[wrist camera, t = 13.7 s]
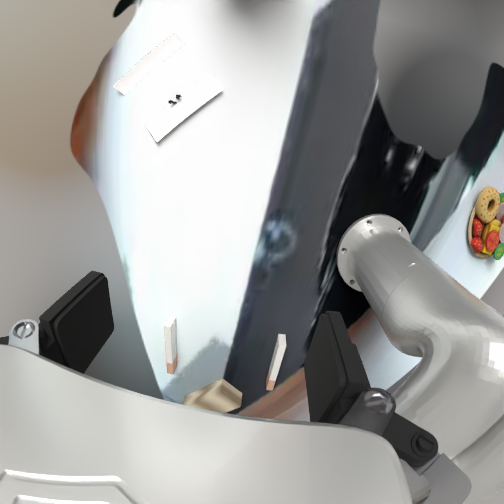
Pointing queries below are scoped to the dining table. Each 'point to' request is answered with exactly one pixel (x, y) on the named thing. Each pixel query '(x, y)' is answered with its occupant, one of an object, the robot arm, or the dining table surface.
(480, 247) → the toy food set
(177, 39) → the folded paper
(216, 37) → the dining table surface
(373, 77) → the dining table surface
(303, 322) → the dining table surface
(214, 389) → the birch block
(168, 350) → the walled lane
